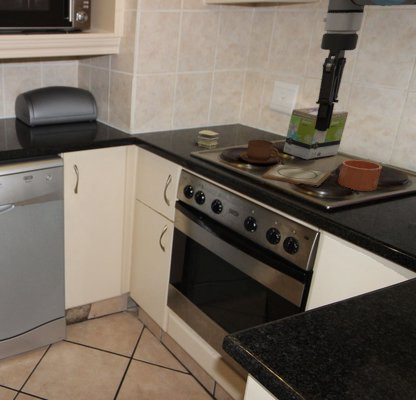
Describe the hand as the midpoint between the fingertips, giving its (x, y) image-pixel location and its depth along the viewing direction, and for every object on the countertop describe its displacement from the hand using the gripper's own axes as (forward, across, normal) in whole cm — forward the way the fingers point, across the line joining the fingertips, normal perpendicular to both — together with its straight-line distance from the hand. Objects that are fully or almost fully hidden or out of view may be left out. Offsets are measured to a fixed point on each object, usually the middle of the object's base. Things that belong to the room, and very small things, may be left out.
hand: (322, 128), depth 123 cm
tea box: (+17, -36, -9) cm, 41 cm away
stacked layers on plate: (+17, -23, -40) cm, 49 cm away
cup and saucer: (+17, -17, -20) cm, 31 cm away
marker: (+3, 0, 0) cm, 3 cm away
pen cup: (+16, -10, +9) cm, 21 cm away
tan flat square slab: (+16, -8, -6) cm, 19 cm away
